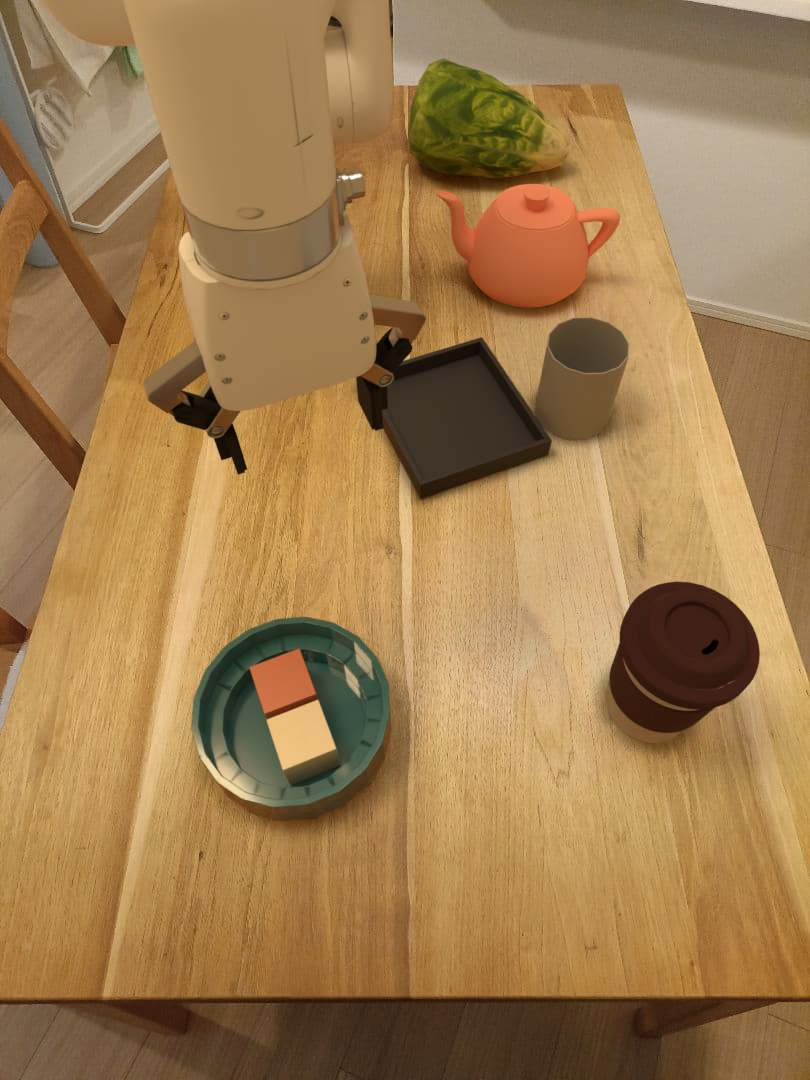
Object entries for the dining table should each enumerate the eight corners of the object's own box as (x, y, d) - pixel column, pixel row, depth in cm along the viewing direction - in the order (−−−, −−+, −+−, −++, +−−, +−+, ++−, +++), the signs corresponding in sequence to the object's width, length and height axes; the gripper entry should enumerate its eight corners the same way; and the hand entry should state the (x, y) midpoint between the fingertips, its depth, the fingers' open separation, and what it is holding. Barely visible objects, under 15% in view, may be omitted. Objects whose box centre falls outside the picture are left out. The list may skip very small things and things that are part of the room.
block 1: (258, 687, 69) (248, 666, 65) (305, 669, 70) (299, 648, 66) (272, 732, 66) (264, 714, 63) (321, 712, 67) (316, 693, 64)
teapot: (430, 314, 96) (432, 227, 86) (436, 239, 104) (438, 151, 94) (608, 321, 95) (631, 233, 85) (599, 244, 103) (620, 156, 93)
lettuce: (549, 224, 113) (584, 147, 101) (394, 182, 110) (410, 99, 98) (557, 157, 118) (590, 77, 106) (409, 116, 116) (427, 30, 104)
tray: (362, 388, 89) (360, 373, 87) (480, 352, 92) (482, 336, 90) (420, 499, 80) (420, 485, 78) (548, 455, 83) (552, 440, 81)
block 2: (274, 737, 66) (265, 719, 62) (323, 718, 67) (318, 699, 63) (290, 786, 64) (282, 770, 60) (341, 765, 65) (336, 748, 61)
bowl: (186, 679, 70) (171, 656, 66) (353, 617, 73) (349, 592, 69) (234, 854, 62) (221, 840, 57) (420, 775, 65) (420, 757, 61)
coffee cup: (578, 657, 70) (614, 575, 58) (684, 648, 71) (743, 565, 58) (602, 764, 65) (648, 700, 53) (717, 754, 66) (789, 688, 53)
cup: (606, 445, 84) (627, 379, 76) (531, 434, 85) (543, 368, 77) (610, 389, 89) (630, 322, 80) (539, 380, 90) (551, 312, 81)
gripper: (397, 137, 42) (401, 364, 56) (75, 214, 38) (168, 434, 53) (454, 217, 38) (442, 438, 52) (103, 311, 35) (194, 519, 49)
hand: (304, 436), depth 53 cm, fingers open, 9 cm apart
